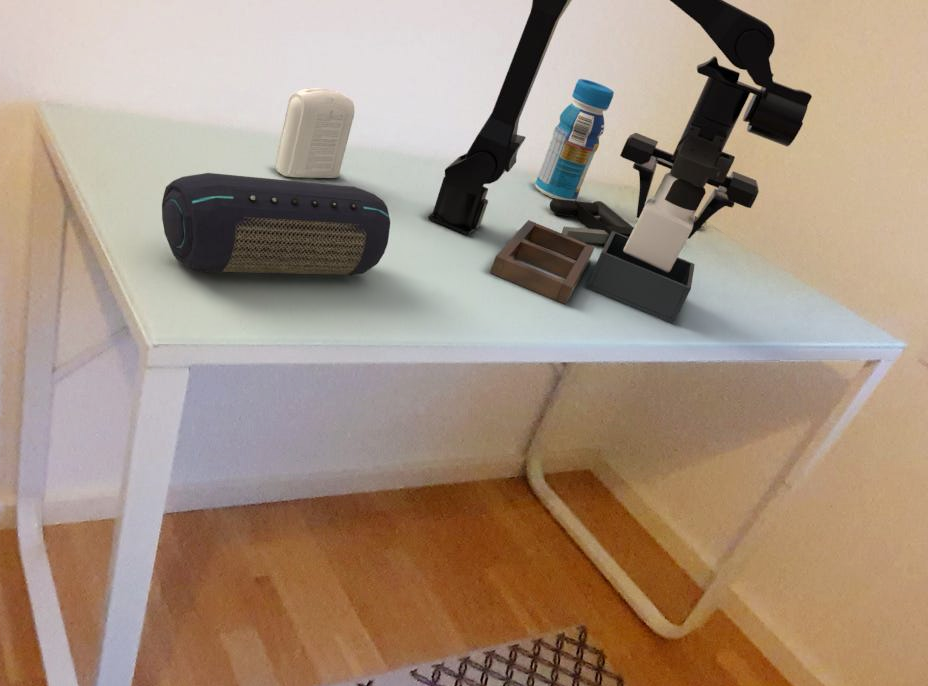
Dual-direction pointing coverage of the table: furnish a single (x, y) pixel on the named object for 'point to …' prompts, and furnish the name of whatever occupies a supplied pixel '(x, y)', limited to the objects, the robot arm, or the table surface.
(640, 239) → the medicine bottle
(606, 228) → the door handle
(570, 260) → the frame
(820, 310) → the table surface
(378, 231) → the portable speaker
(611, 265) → the tote
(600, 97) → the beverage bottle
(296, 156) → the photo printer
